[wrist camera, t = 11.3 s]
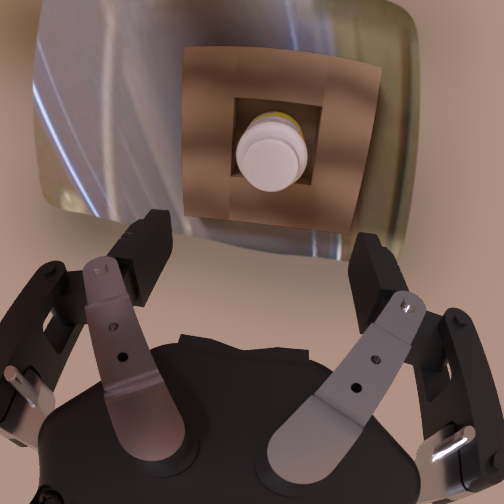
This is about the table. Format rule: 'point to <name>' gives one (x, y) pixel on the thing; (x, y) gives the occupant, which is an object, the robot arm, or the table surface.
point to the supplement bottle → (272, 151)
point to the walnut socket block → (285, 100)
